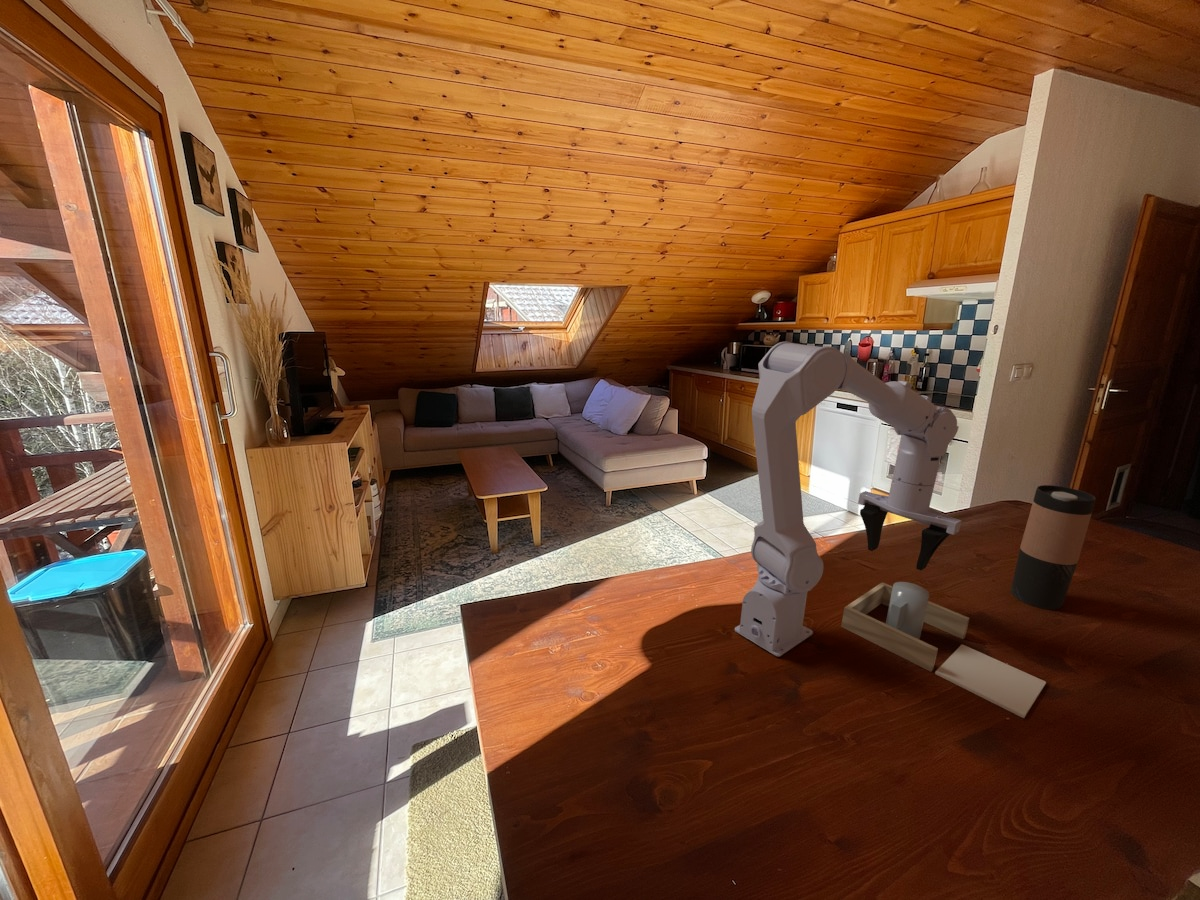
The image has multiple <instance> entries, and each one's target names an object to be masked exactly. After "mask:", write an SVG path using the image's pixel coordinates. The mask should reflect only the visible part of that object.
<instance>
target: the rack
mask: <svg viewBox="0 0 1200 900" xmlns="http://www.w3.org/2000/svg"><path fill="white" fill-rule="evenodd" d="M892 589H893V585H890V584H888V583H885V582H880V583H879V584H877V585H876V586H875V587H873V588H871V589H870V590H869V591H867V592H865V593H864V594H862V595H861V596H858V598H856V599H855V600H853V601H852V602H850V603H848V605H846V606H844V607H843V608H844V609H843V614H842V619H841V620H842V621H841V628H843V629H845V630H847V631H849V632H850V633H853V634H855V635H857V636H859V637H861V638H862V639H865V640H867V641H869V642H871V643H873V644H875V645H876V646H879V647H880V648H883V649H885V650H887V651H889V652H890V653H893V654H895V655H897V656H898V657H901V658H903V659H905V660H907V661H909V662H911V663H912V664H914V665H917V666H919V667H920V668H922V669H925V670H926V671H929V672H933V671H934V668H935V663H936V659H937V655H938V652H939V651H938V650H939V648H938V647H936V646H934V645H931V644H930V643H928V642H925V641H923V640H921V639H917V638H915V637H913V636H911V635H908V634H906V633H904V632H902V631H900V630H898V629H895V628H893V627H891V626H889V625H887V624H886V622H883V621H880V620H878V619H876V618H874V617H872V616H870V615H868V614H869V613H870V612H872V611H873V610H874V609H876V608H877V607H878V606H881V604H882V605H884V606H886V607H888V608H889V604H890V599H891V594H892ZM923 623H925V624H927V625H930V626H932V627H934V628H936V629H938V630H941V631H943V632H946V633H947V634H951V635H952V636H955V637H957V638H959V639H962V640H964V639H965V638H966V635H967V630H968V626H969V623H970V617H968V616H966V615H963V614H962V613H960V612H957V611H954V610H951V609H950V608H946V607H944V606H942V605H939V604H937V603H935V602H932V601H931V600H928V603H927V608H926V612H925V617H924V621H923Z"/></svg>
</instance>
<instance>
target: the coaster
mask: <svg viewBox="0 0 1200 900" xmlns="http://www.w3.org/2000/svg"><path fill="white" fill-rule="evenodd" d="M934 675H937V676H938V677H940V678H943V679H944V680H947V681H948V682H950V683H953V684H954V685H956V686H959V687H960V688H962V689H964V690H967V691H969V692H971V693H972V694H975V695H976V696H978V697H981V698H982V699H985V700H986V701H988V702H991V703H992V704H994V705H996V706H999V707H1000V708H1001V709H1002V708H1003V709H1004V710H1006V711H1008V712H1010V713H1013V714H1014V715H1016V716H1018V717H1020V718H1022V719H1025V717H1026V716H1027V715H1028V713H1029V711H1030V709H1031V708H1032V706H1033V705H1034V703H1035V701H1036V700H1037V698H1038V697H1039V696H1040V694H1041V692H1042V691H1043V690H1044V687H1045V686H1046V684H1047V681H1045V680H1043V679H1040V678H1038V677H1036V676H1034V675H1032V674H1029V673H1027V672H1025V671H1023V670H1020V669H1019V668H1016V667H1014V666H1011V665H1010V664H1007V663H1005V662H1002V661H1000V660H999V659H996V658H994V657H991V656H989V655H987V654H985V653H983V652H980V651H978V650H976V649H973V648H971V647H969V646H967V645H964V644H960V646H958V648H957V649H956V650H955V651H954V652H953V653H952V654H951V655H950V656H949V657H948V658H947V659H946V660H945V661H944V662H943V663H942V664H941V665H940V666H939V667H938V668H937V669H936V670H935V672H934Z"/></svg>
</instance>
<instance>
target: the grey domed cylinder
mask: <svg viewBox="0 0 1200 900" xmlns="http://www.w3.org/2000/svg"><path fill="white" fill-rule="evenodd" d="M892 586H893V589H892V594H891V599H890V604H889V607H888V610H887V614H886V615H887V616H886V621H885V624H887V625H889V626H891V627H893V628H895V629H898V630H900V631H902V632H904V633H906V634H908V635H911V636H913V637H915V638H917V639H919V640H921V639H920V638H921V636H922V630H923V625H924V622H923V621H924V617H925V612H926V608H927V603H928V601H929V598H930V592H929V591H928V590H927V589H926V588H924V587H922V586H921V585H919V584H916V583H912V582H907V581H896V582H894V583H893V585H892Z"/></svg>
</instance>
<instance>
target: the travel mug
mask: <svg viewBox="0 0 1200 900" xmlns="http://www.w3.org/2000/svg"><path fill="white" fill-rule="evenodd" d="M1096 499H1097V498H1096V497H1095V495H1092V494H1090V493H1088V492H1085V491H1083V490H1079V489H1075V488H1071V487H1065V486H1060V485H1050V484H1046V485H1045V484H1043V485H1039V486H1037V488H1036V490H1035V494H1034V497H1033V500H1032V504H1031V507H1030V512H1029V516H1028V518H1027V522H1026V526H1025V530H1024V532H1023V535H1022V539H1021V544H1020V547H1019V551H1018V556H1017V560H1016V564H1015V569H1014V573H1013V578H1012V583H1011V588H1010V593H1011V595H1012V596H1013V597H1014V598H1016V599H1017V600H1019V601H1020V602H1023V604H1027V605H1029V606H1032V605H1033V606H1032V607H1035V608H1040V609H1043V610H1051V611H1054V610H1059V609H1061V608H1062V606H1063V604H1064V602H1065V599H1066V596H1067V593H1068V591H1069V588H1070V585H1071V582H1072V579H1073V578H1074V577H1073V576H1074V574H1075V570H1076V568H1077V566H1078V565H1077V564H1078V562H1079V560H1080V555H1081V552H1082V549H1083V546H1084V541H1085V538H1086V534H1087V531H1088V528H1089V525H1090V524H1089V523H1090V521H1091V517H1092V513H1093V509H1094V506H1095V504H1096Z"/></svg>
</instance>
